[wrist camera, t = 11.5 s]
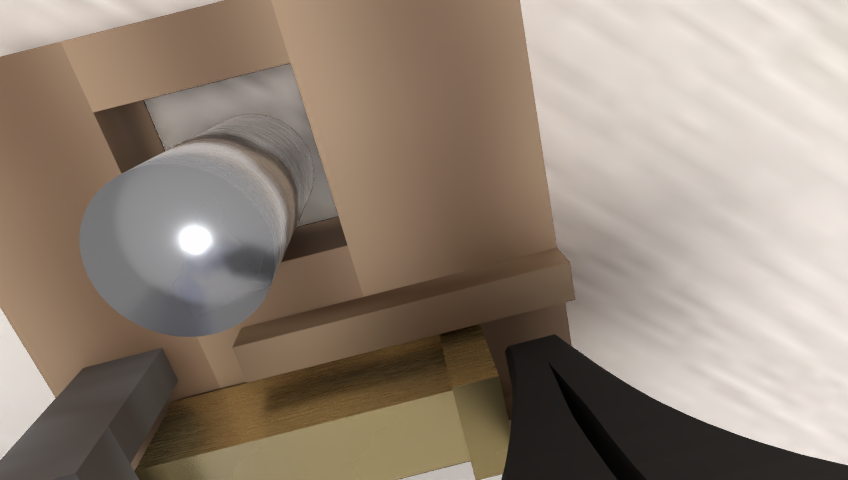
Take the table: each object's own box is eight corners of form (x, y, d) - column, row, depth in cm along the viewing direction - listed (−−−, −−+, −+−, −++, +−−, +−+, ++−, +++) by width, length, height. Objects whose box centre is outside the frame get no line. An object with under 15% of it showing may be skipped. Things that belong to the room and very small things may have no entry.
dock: (164, 455, 17) (48, 685, 11) (-39, 81, 13) (-423, 117, 6) (552, 357, 17) (652, 532, 11) (483, -50, 13) (586, -137, 7)
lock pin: (207, 469, 14) (172, 557, 12) (168, 392, 13) (121, 471, 11) (494, 396, 14) (519, 469, 12) (475, 314, 13) (498, 375, 11)
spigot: (240, 241, 15) (157, 364, 9) (175, 146, 14) (36, 219, 8) (334, 193, 14) (309, 289, 9) (276, 93, 13) (204, 128, 8)
